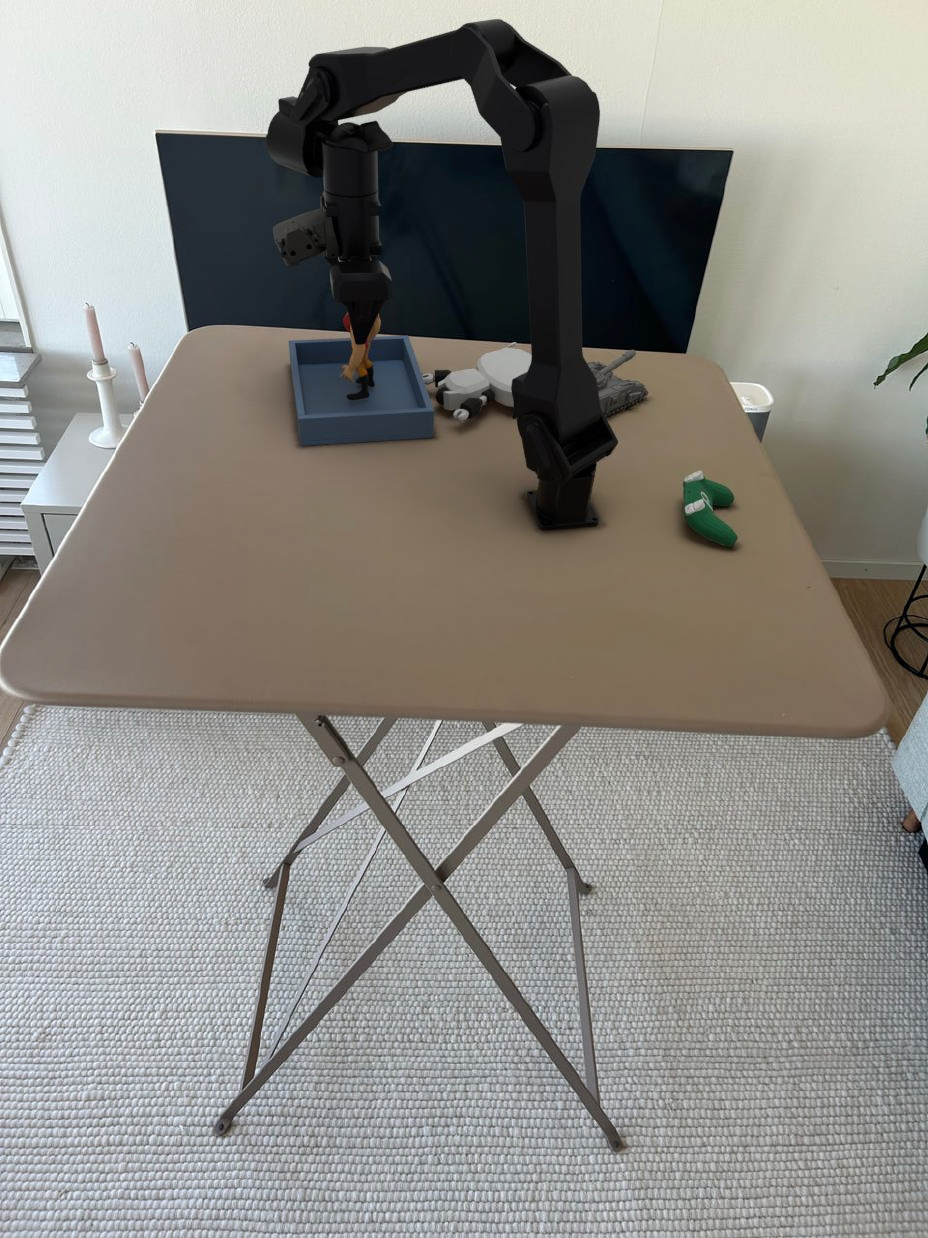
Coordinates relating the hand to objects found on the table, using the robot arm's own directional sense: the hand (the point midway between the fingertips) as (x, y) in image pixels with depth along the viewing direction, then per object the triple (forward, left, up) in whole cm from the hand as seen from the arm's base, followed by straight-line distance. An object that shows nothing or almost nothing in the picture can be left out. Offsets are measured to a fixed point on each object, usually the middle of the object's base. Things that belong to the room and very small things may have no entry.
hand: (356, 329), depth 104 cm
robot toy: (-2, -16, -10) cm, 19 cm away
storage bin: (0, 0, -9) cm, 9 cm away
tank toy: (-3, -30, -10) cm, 32 cm away
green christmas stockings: (-30, -34, -10) cm, 46 cm away
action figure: (+1, 0, -9) cm, 9 cm away
